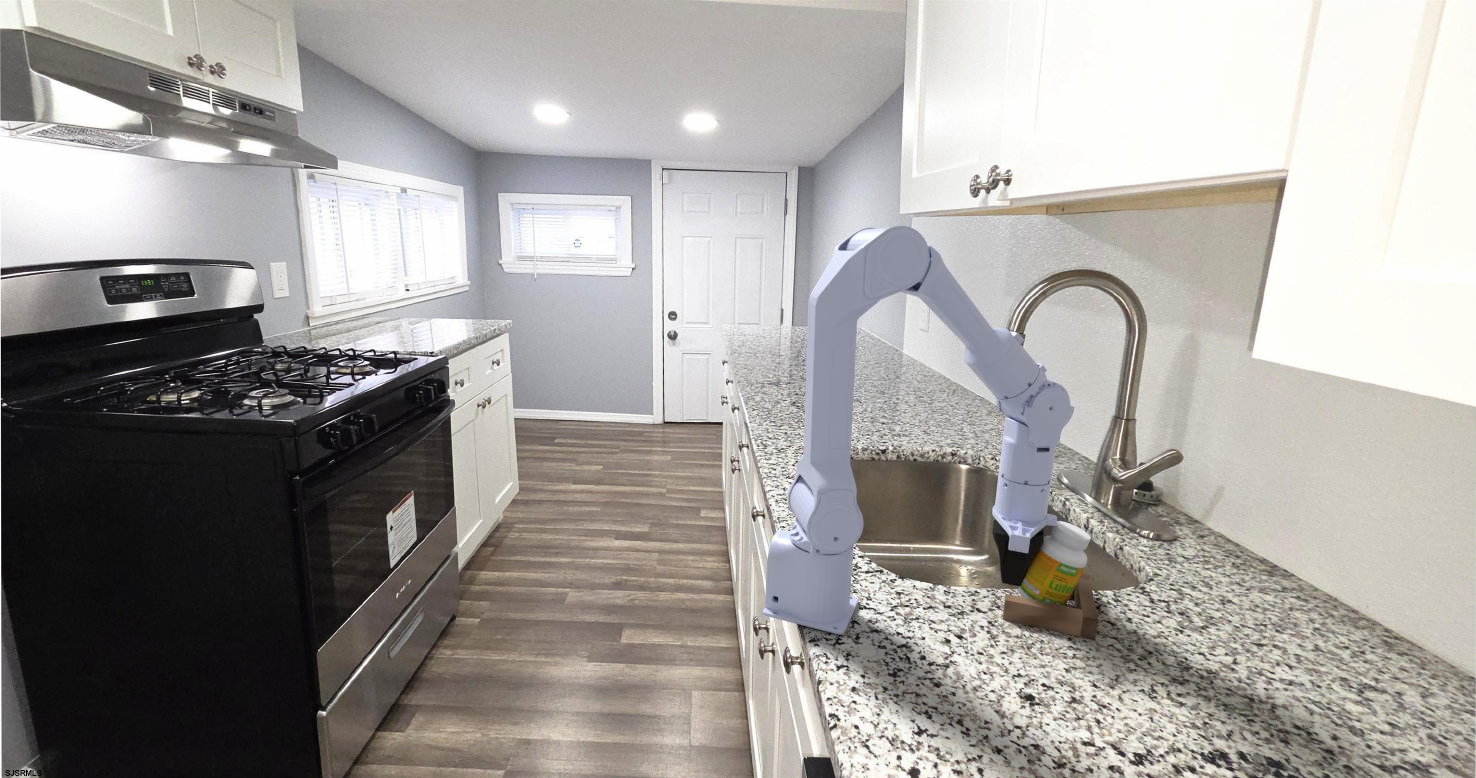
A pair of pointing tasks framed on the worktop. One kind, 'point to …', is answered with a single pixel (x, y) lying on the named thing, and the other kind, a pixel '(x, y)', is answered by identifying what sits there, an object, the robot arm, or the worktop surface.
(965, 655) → the worktop surface
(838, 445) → the robot arm
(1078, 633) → the wooden u-shaped bracket
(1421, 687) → the worktop surface
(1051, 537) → the supplement bottle
